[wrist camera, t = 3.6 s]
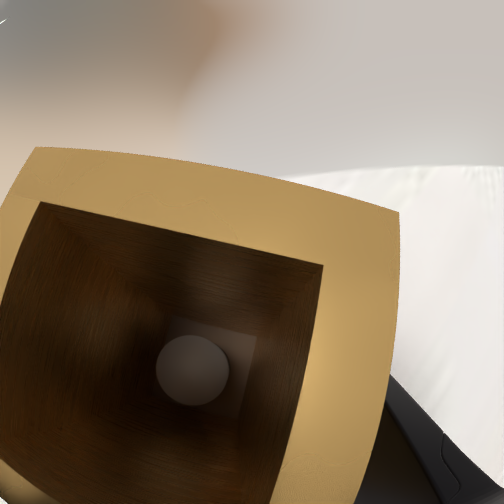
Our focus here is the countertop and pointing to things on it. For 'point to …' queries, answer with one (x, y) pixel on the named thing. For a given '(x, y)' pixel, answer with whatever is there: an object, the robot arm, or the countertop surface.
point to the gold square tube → (196, 309)
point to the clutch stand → (204, 367)
